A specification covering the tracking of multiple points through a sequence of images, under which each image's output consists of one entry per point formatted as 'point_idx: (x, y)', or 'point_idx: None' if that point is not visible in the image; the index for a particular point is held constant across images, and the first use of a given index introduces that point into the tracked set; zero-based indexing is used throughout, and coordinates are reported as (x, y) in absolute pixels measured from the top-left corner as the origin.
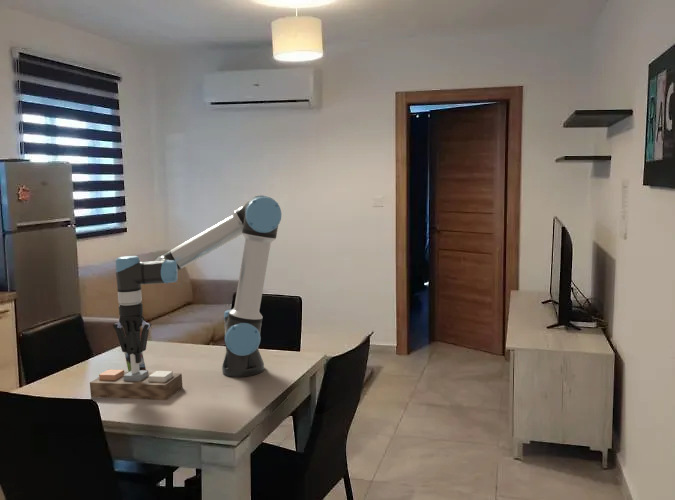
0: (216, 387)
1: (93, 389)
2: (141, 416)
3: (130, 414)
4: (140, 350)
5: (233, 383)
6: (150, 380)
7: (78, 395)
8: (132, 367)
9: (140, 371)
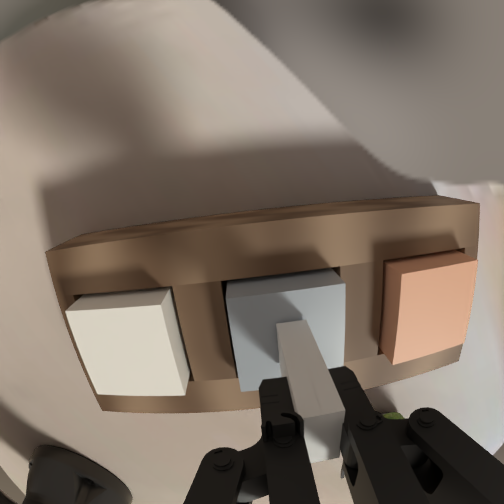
0: (32, 379)
1: (447, 199)
2: (78, 53)
3: (130, 49)
4: (219, 462)
5: (24, 407)
6: (154, 294)
7: (482, 207)
8: (304, 343)
9: (278, 370)
